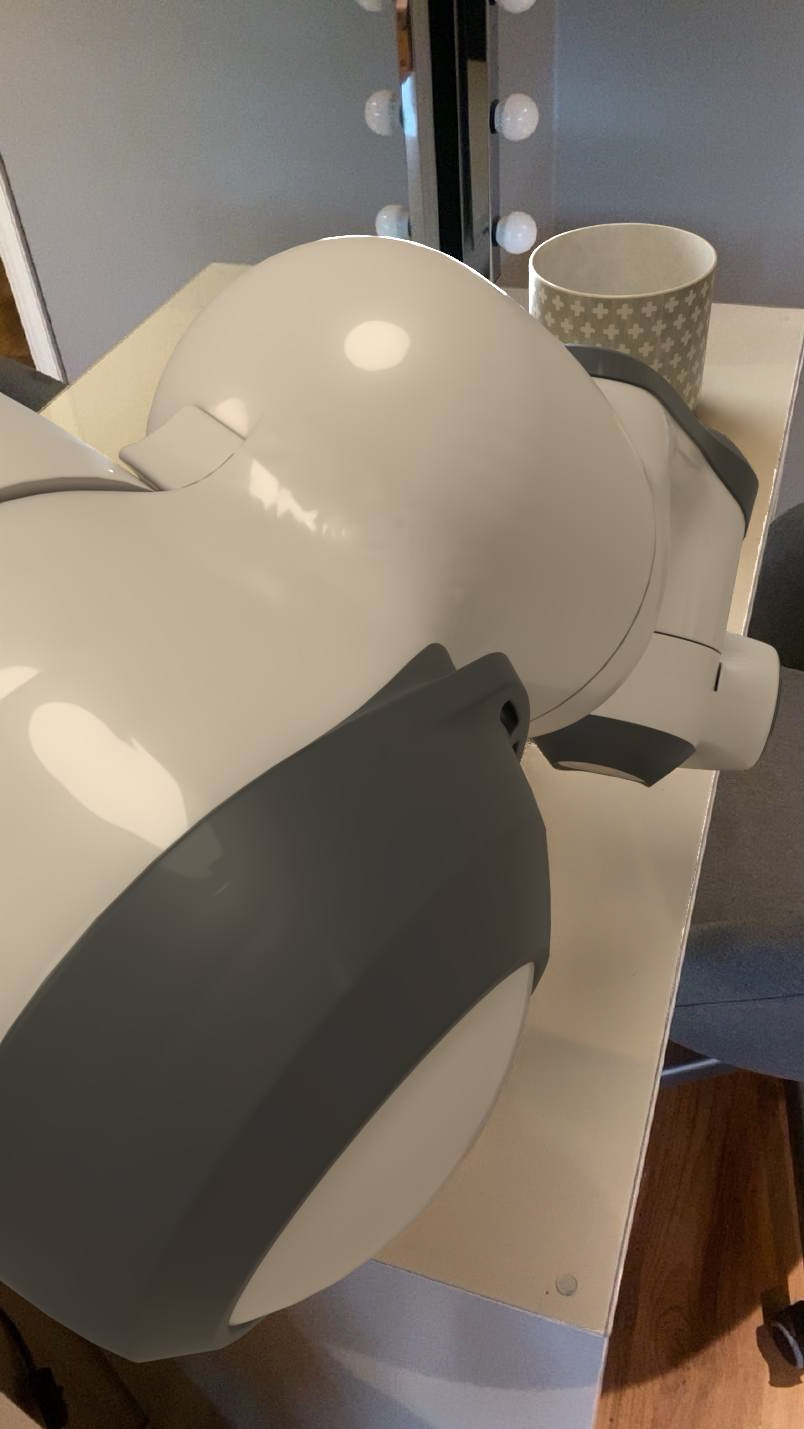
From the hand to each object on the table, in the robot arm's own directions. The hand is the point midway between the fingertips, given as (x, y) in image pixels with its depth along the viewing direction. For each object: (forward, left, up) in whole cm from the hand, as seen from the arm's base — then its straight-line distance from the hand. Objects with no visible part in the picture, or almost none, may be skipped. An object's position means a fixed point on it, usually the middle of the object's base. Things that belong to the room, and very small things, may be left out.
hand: (297, 630), depth 69 cm
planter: (+54, -35, -19) cm, 67 cm away
